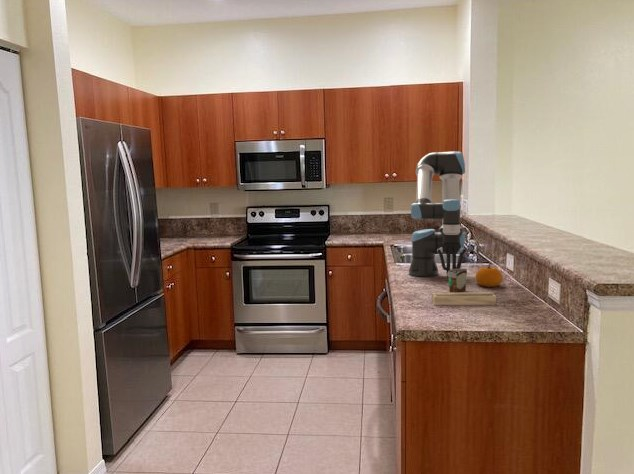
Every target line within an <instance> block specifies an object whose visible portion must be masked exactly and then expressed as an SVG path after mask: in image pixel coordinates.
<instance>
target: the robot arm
mask: <svg viewBox="0 0 634 474" xmlns="http://www.w3.org/2000/svg"><path fill="white" fill-rule="evenodd" d="M464 157H465V156H464V154H463V152H461V151H454V150H453V151H442V152H441V151H439V152H438V151H437V152H436V151H434V152H430V153H426V155H424V156H423V157H422V158H421V159H420V160H419V161H418V162H417V164H416V167H415V175H416V194H415V203H414V202H413V203H411V205H410V216H411V219H414V220H439V219H440V220H442V221H441V222H442V223H441V224H442V225H441V226H440V227H439V228H438V229H439V231H436V229H434V228H426V229H421V230H415V231H414V232H413V233H412V234H411V235H412V236H411V244H412V245H411V250H412V251H411V261H410V262H411V263H410V265H409V267H408V274H409V275H410V276H415V277H423V278H425V277H426V278H427V277H435V276H438V275H439V268H438V266H437V265H438V264H437V262H436V255H439V259H440V264H441V267H442V270H444V271H446V274H447V273H448V270H451V269H461V266H462V263H463V259H464V254H465V253H466V252H467V249H466V248H465V247H464V246H465V241H466V231H463V227H462V226H461V200H460V180H461V179H462V178H463V175H465V174H466V164H465V158H464ZM434 175H439V179H440V180H441V181H442V183H441V186H442V187H441V188H442V189H441V191H442V193H441V195H442V196H441V198H442V199H441V201H442V202H432V201H433V200H432V199H433V198H432V197H433V177H434ZM444 255H446V263H445V259H444ZM451 255H452V256H451ZM457 255H458V259H457ZM451 258H452V259H451ZM451 262H452V263H451ZM451 264H452V265H451ZM451 266H452V268H451ZM446 278H447V279H449V277H448V276H447V275H446Z"/></svg>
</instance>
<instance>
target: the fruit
mask: <svg viewBox="0 0 634 474" xmlns="http://www.w3.org/2000/svg"><path fill="white" fill-rule="evenodd" d="M475 282H476V283H477V284H478V285H479V286H480V287H481V286H482V287H485V288H495V287H499V285H501V284H502V282H503V273H502V272H501V270H499V269H498V268H497V267H493V266H491V264H488V266H484V267H481V268H479V269H478V270H477V272H476V274H475Z"/></svg>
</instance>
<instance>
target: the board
mask: <svg viewBox="0 0 634 474" xmlns="http://www.w3.org/2000/svg"><path fill="white" fill-rule="evenodd" d="M431 302H432V303H433V305H434V306H452V305H453V306H458V305H459V306H465V305H466V306H467V305H468V306H469V305H470V306H473V305H477V306H478V305H479V306H480V305H481V306H483V305H490V306H491V305H493V306H495V305H496V304H497V296H496V295H495V294H494V293H493V292H492V291H490V292H489V291H488V292H486V291H485V292H484V291H483V292H482V291H479V292H473V291H472V292H468V291H466V292H464V293H450V292H432V293H431Z"/></svg>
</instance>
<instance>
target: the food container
mask: <svg viewBox="0 0 634 474" xmlns="http://www.w3.org/2000/svg"><path fill="white" fill-rule="evenodd" d="M467 274H468V269H467V268H460V269H452V268H450V270H448V273H447V272H446V277H447V276H448V277H449V278H448V287H449V293H466V292H467V291H466V290H467Z"/></svg>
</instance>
